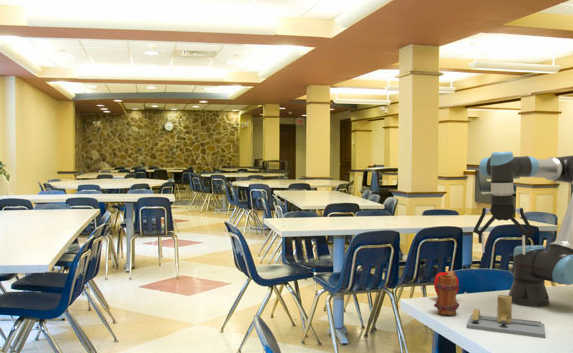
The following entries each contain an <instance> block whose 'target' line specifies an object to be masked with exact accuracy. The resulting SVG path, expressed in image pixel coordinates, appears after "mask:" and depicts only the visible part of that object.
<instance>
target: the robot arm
mask: <svg viewBox="0 0 573 353" xmlns="http://www.w3.org/2000/svg"><path fill="white" fill-rule="evenodd" d="M478 167H479V168H478V169H479V170H478V171H479V172H480V173H481V175H483V176H485V177H490V193H491V194H492V195H491V196H490V197H491V198H490V200H491V201H490V203H491V206H490V208H487V207H485V206H484V207H482V209H481V215H480V216H479V218H478V220H477V222H476V224H475V226H474V229H473V233H475V234H477V235H478V238H477V239H478V244H481V253H482V254H483V253H484V254H485V251H486V250H485V233H484V232H485V231H486V230H487V229H488V228H489V227H490V226H491V225H492V223H493V222H494V221H495V220H497V221H509V220H510V221H511V222H512V223H513V224H514V225H515V226H516V227H517V229H519V230H520V232H522V234H521V235H522V238H521V239H522V244H521V245H517V246H515V248H514V249H513V256H512V262H513V263H512V267H513V268H512V271H513V273H512V274H513V275H512V277H513V278H512V279H513V282H512V285H511V287H510V289H509V292H508V296H512V304H515V305H516V304H517V305H520V306H527V307H546V306H549V305H550V298H549V294H548V292H547V288H546V285H545V282H546V281H548V282H552V283H556V284H558V285H567V286H570V285H573V193H571V197H570V199H569V202H568V205H567V208H566V210H565V213H564V216H563V219H562V222H561V224H560V227H559V230H558V232H557V234H556V238H555V240H554V241H553V242H550V243H549V245H548V248H547V250H546V246H545V245H542V244H541V245H540V244H539V245H537V244H535V245H534V244H533V245H529V241H530V240H529V236H531V235H534V234H535V233H534V232H535V231H534V229H533V228H532V226H531V224H530V222H529V221H528V219H527V217H526V215H525V212H524V208H523V207H520V208H515V206H514V205H515V202H514V201H515V200H514V199H515V197H514V195H513V194H514V192H515V191H514V178H535V179H536V178H541V179H543V178H544V179H545V180H548V181H555V182H556V181H557V182H561V183H567V184H572V185H573V155H565V156H558V157H555V156H554V157H553V156H551V157H547V158H546V159H543V158H536V157H534V156H528V155H525V156H514V154H513V152H512V151H494V152H492V153H491V154H490V156H489V157H484V158H482V159H481V160H480V162H479V166H478ZM516 212H517V215H520V218H521V219H522V220H523V222H524V224H525V226H526V228H527V229H528V230H526V228H524V227H523V225H522V224H521V223H520V222H519V221H518V220H517V219H516V217H514V214H515V213H516ZM489 213H491V215H492V216H491V217H490V218H489V219H488V220H487V222H486V223H485V224H484V225H483V226H482V227H481V224H482V222H483V220H484V218H485V216H486V215H488V214H489ZM480 227H481V228H480ZM479 228H480V230H479Z"/></svg>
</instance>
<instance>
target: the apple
mask: <svg viewBox="0 0 573 353" xmlns="http://www.w3.org/2000/svg"><path fill="white" fill-rule="evenodd" d="M447 274H448V271H445V272H443V271H442V272H438V273H437V274H436V275H435V277H434V280H433V281H434V282H433V285H434V286H433V287H434V288H433V289H434V291H435V293H436V295H437V296H438V288H436V287H435V285H436V284H437V282H438V276H439V275H440V276H441V275H447ZM456 283H457V284H458V285H459V286H458V288H457V289H456V296H457V294H458V292H459V289H460V288H459V287H460V284H459V278H458V277H457V275H456Z"/></svg>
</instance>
